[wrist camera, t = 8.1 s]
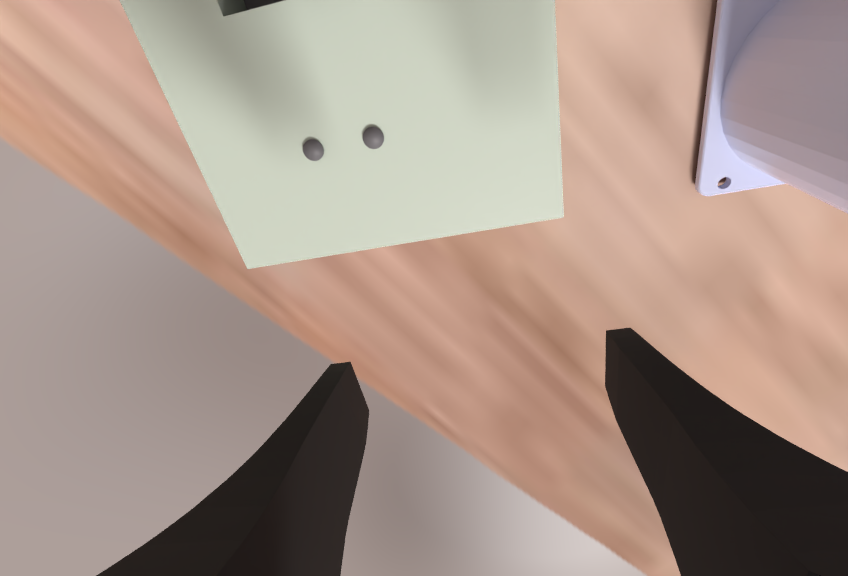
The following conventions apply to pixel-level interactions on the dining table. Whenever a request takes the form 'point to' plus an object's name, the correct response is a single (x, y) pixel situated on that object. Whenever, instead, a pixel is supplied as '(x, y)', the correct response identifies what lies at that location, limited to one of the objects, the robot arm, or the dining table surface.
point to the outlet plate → (362, 116)
